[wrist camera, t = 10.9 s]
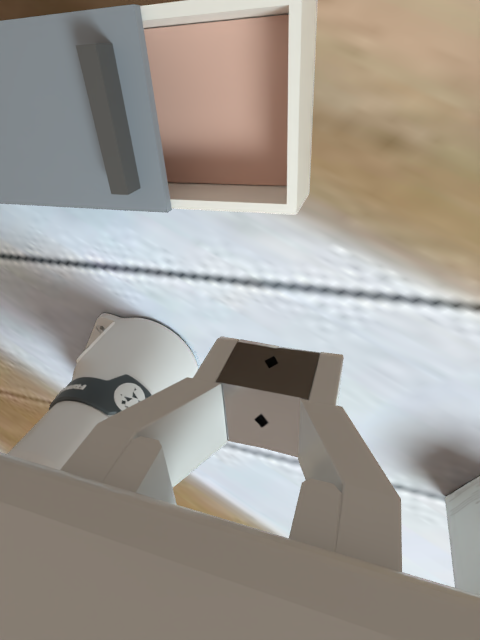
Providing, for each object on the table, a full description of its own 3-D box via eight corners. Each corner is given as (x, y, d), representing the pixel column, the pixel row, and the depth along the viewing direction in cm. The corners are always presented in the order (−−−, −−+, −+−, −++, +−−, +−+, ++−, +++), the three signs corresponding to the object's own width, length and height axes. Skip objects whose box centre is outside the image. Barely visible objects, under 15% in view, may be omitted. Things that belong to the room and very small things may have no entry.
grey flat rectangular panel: (139, 5, 26) (116, 0, 24) (171, 209, 34) (156, 220, 32) (-71, 31, 32) (-106, 29, 30) (-3, 200, 40) (-26, 209, 38)
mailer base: (317, -3, 28) (302, -14, 23) (309, 193, 36) (296, 214, 31) (87, 23, 34) (37, 18, 29) (123, 186, 41) (88, 204, 37)
